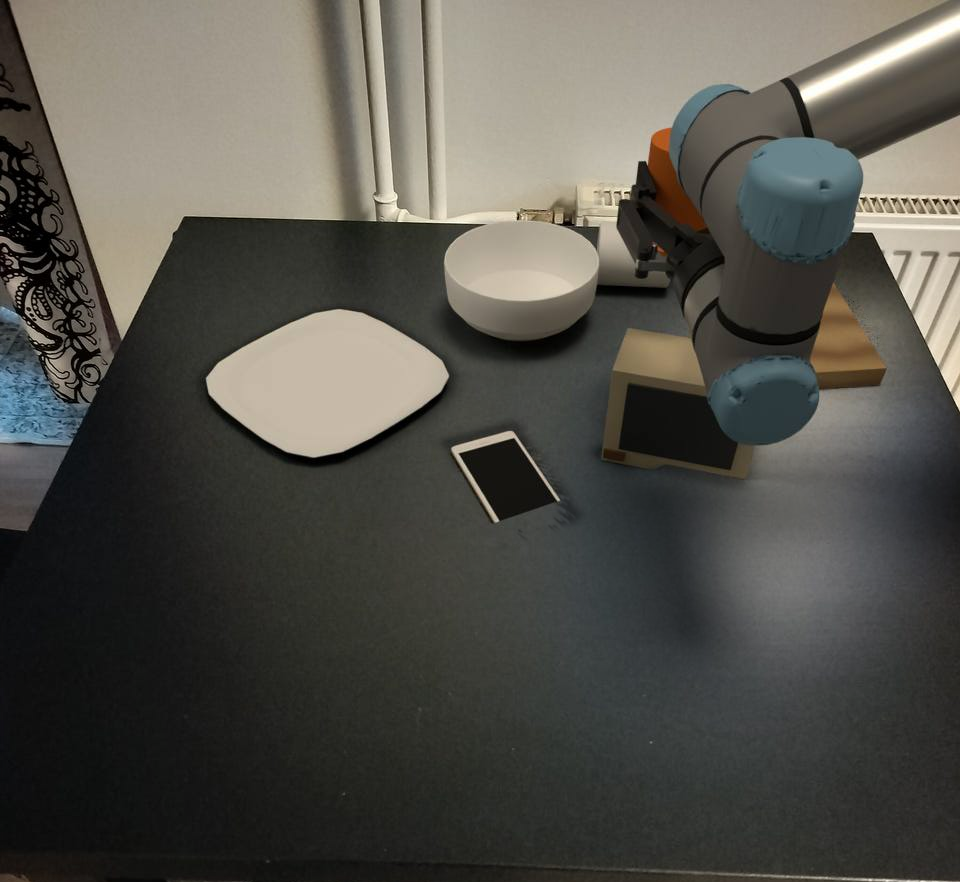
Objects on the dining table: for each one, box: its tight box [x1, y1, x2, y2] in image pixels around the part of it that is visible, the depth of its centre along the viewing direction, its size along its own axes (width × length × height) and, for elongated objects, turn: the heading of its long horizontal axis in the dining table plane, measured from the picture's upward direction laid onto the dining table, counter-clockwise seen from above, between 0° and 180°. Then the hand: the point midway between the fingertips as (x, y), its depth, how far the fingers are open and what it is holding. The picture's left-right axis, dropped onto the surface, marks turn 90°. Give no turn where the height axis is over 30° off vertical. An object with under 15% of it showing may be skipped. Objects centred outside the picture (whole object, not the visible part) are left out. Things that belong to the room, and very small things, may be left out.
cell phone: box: [450, 430, 561, 524], centre depth 98 cm, size 8×16×1 cm, turn 22°
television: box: [600, 327, 756, 480], centre depth 97 cm, size 16×8×12 cm, turn 73°
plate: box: [205, 308, 450, 460], centre depth 109 cm, size 25×25×2 cm
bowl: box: [443, 219, 599, 342], centre depth 115 cm, size 20×20×8 cm
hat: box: [647, 126, 711, 256], centre depth 88 cm, size 10×10×9 cm
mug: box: [596, 220, 671, 289], centre depth 122 cm, size 12×10×8 cm
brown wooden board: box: [810, 282, 888, 390], centre depth 114 cm, size 20×12×2 cm, turn 5°
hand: (679, 174), depth 89 cm, fingers closed on hat, 7 cm apart
